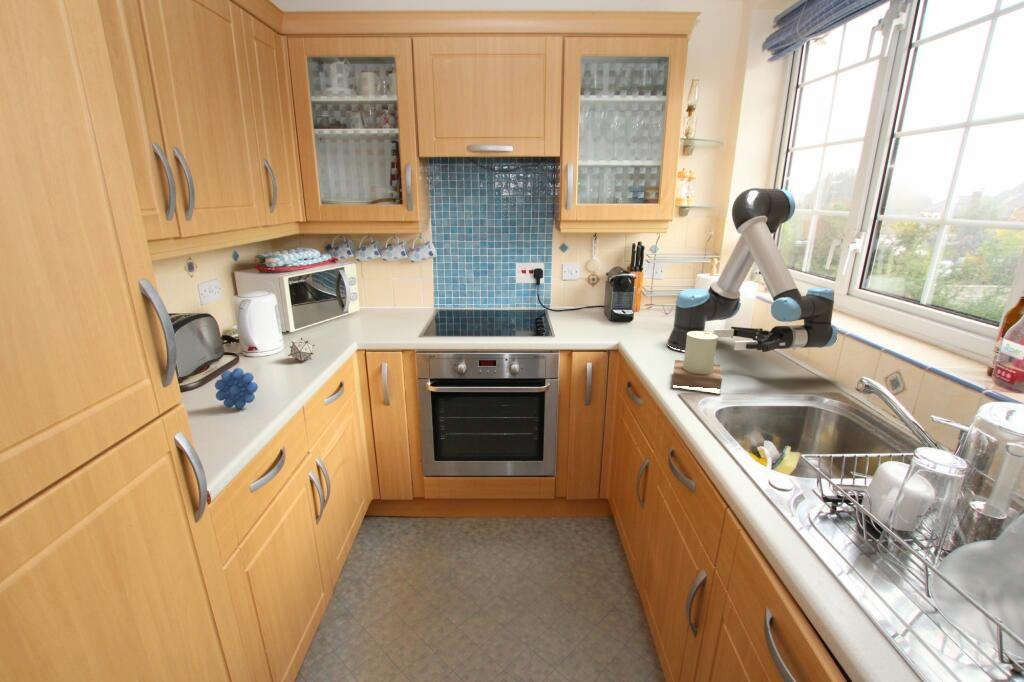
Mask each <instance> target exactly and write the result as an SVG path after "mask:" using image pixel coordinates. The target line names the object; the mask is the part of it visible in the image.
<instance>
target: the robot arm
mask: <svg viewBox="0 0 1024 682" xmlns="http://www.w3.org/2000/svg"><path fill="white" fill-rule="evenodd" d="M795 210H796V201H795V197H794V196H793V194H792V193H791V192H790V191H788V190H786V189H782V188H777V187H775V188H760V187H759V188H757V187H755V188H754V187H753V188H747V189H746V190H744V191H742V192H741V193H739V194H738V195H737V196H736V198H735V200H734V201H733V204H732V208H731V217H732V222H733V225H734V228H735V229H736V232H737V233H738V234H739V235H740V236H739V238H738V240H737V242H736V244H735V246H734V248H733V250H732V252H731V254H730V255H729V258H728V260H727V261H726V264H725V266H724V267H723V270H722V271H721V274H720V275H719V276H718V279H717V281H713V282H711V284H710V286H709V288H708V290H707V289H704V288H687V289H684V290H681V291H679V292H678V293H677V295H676V296H677V297H676V301H675V311H674V322H673V328H672V330H671V332H670V335H669V336H668V338H667V342H666V345H667V344H668V345H669V346H671V347H673V348H676V349H680V350H685V348H686V340H687V333H688V332H691V331H703V332H705V327H706V322H710V321H711V322H712V321H724V320H727V319H731V318H733V317H734V316H736V315H737V313H738V312H740V308H741V306H742V305H741V304H742V303H741V291H740V288H741V286H742V284H743V283H744V281H745V279H746V277H747V276H748V273H749V272H750V271H751V269H752V267H753V265H754V264H756V267H757V268H758V270H759V273H760V274H761V276H762V279H763V281H764V283H765V285H766V287H767V290H768V292H769V294H770V296H771V298H772V300H773V302H772V304H771V306H770V314H771V317H773V318H774V320H776V321H778V322H783V323H784V322H786V323H787V322H788V323H789V322H796V321H801V320H802V321H803V324H802V325H801V324H800V325H799V324H795V325H793V324H792V325H776V326H774V327H772V328H771V330H770V331H769V330H766V329H765V330H764V329H763V328H753V327H740V326H731V327H730V328H717V329H715V328H714V329H713V334H715V335H717V336H718V338H717V339H719V338H730V339H734V337H738V338H744V339H752V340H738V341H737V340H736V341H734V346H733V350H734V351H750V350H754V351H755V350H757V351H761V352H762V353H767V352H769V351H774V350H783V349H784V350H786V349H792V350H793V351H794V350H796V349H805V348H807V349H808V348H811V349H812V348H818V349H819V348H820V349H822V348H830V347H833V346H834V345H833V344H834V343H835V342H836V340H837V334H839V332H838V333H837V329H838V327H837V326H836V325H834V324H832V318H833V311H834V304H835V291H834V290H833V289H832V288H829V287H810V288H808V289H807V291H806V294H805V295H802V294H801V292H800V291H799V288H798V286H797V284H796V282H795V279H794V278H793V275H792V273H791V272H790V270H789V268H788V266H787V264H786V261H785V259H784V257H783V255H782V254H781V252H780V250H779V248H778V247H779V246H778V245H777V243H776V241H775V239H774V237H773V235H774V234H776V232H777V231H778V229H779V227H780V225H781V224H785V223H786V222H788V221H790V219H791V218H792V217H793V215H795ZM832 345H833V346H832Z"/></svg>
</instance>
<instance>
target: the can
mask: <svg viewBox="0 0 1024 682" xmlns="http://www.w3.org/2000/svg"><path fill="white" fill-rule="evenodd" d="M718 339H719V338H718V336H717V335H715V334H714V332H708V331H704V332H703V331H691V332H688V333H687V340H686V348H685V353H684V357H683V361H684V363H683V369H684V370H686V371H688V372H691V373H696V374H710V373H712V372H713V364H714V362H715V355H716V350H717V349H716V348H717V342H718Z"/></svg>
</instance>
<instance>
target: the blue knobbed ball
mask: <svg viewBox="0 0 1024 682" xmlns="http://www.w3.org/2000/svg"><path fill="white" fill-rule="evenodd" d="M254 377H255V376H254V374H253V373H251V372H244V369H242V368H240V367H236V368H234V369H233V370H232V371H230V370H225V371H223V372H222V373H221V374H220V378H219V379H218V380H216V382H215V383H214V387H215V389H216V390H218V391H217V392H216V393H215V398H216V400H218V401H223V403H222V404H223V406H224V408H227V409H230V408H233V407H235V408H236V409H238V410H241V409H243V408H244V407H245V406H246V404H251V403H253V401H255V399H256V398H255V397H256V396H255V393H256V391H257V390H258V389H259V386H258V383H256V382H254Z"/></svg>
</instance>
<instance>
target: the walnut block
mask: <svg viewBox="0 0 1024 682" xmlns="http://www.w3.org/2000/svg"><path fill="white" fill-rule="evenodd" d="M683 363H684V360H680V359H675V360H674V366H673V372H672V383H673V384H672V385H677V386H689V387H703V388H717V389H721V388H722V383H723V376H722V371H721V366H720V364H713V372H712V373H710V374H696V373H691V372H688V371H686V370H684V369H683ZM672 385H671V386H672ZM721 390H722V389H721Z"/></svg>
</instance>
